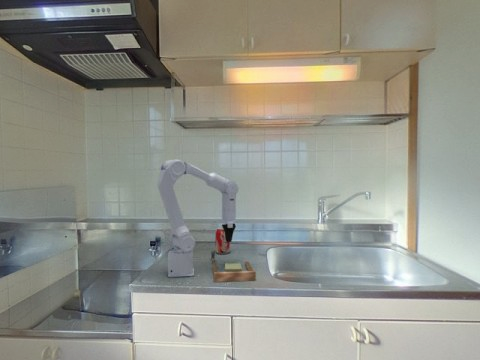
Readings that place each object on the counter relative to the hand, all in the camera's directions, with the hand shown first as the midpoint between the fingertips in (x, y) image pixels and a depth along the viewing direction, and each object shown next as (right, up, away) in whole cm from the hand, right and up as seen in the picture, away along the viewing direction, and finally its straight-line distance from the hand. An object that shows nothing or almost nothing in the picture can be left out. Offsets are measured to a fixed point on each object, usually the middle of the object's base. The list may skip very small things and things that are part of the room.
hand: (228, 241), depth 131 cm
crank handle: (-7, -10, +6) cm, 14 cm away
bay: (+2, -10, -9) cm, 14 cm away
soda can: (-3, -9, +19) cm, 21 cm away
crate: (+2, -11, -13) cm, 17 cm away
